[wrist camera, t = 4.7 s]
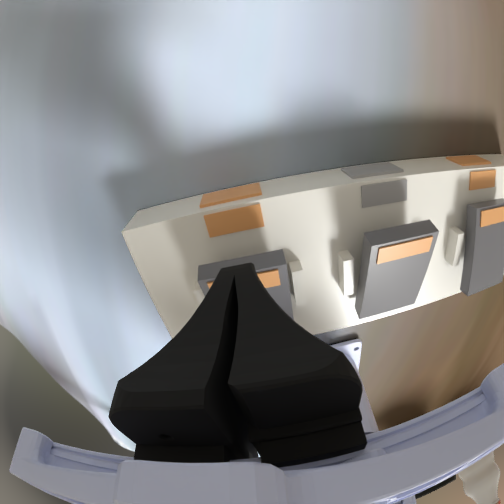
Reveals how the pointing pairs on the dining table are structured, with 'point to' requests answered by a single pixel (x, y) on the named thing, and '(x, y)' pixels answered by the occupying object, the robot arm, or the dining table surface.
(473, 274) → the rocker
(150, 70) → the dining table surface
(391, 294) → the rocker
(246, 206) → the switch panel
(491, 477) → the fruit juice
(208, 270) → the rocker
